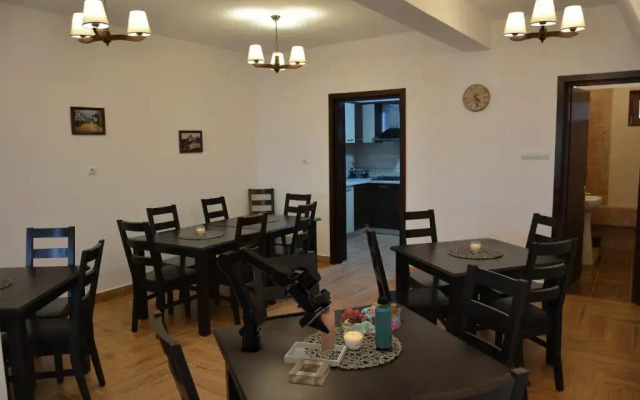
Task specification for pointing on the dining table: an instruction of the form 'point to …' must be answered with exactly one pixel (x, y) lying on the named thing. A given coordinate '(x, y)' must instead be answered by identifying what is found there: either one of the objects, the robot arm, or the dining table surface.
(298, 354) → the tray
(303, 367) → the holder
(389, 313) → the beverage bottle
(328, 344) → the dowel
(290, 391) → the dining table surface
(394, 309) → the candy landscape model
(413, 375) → the dining table surface
